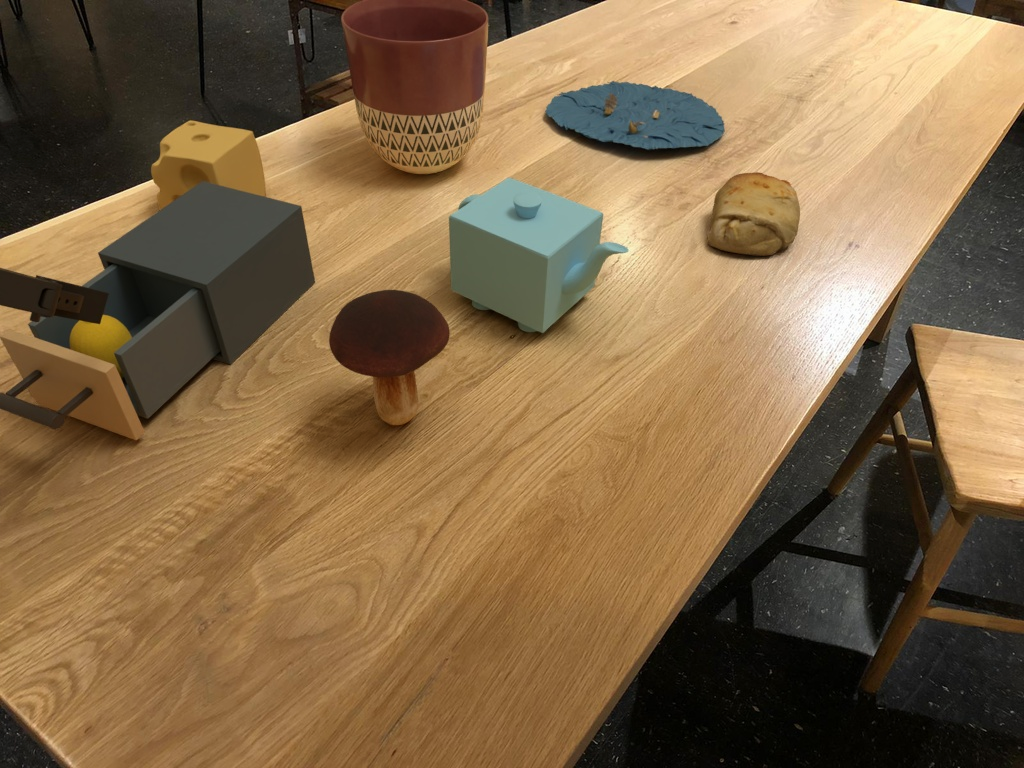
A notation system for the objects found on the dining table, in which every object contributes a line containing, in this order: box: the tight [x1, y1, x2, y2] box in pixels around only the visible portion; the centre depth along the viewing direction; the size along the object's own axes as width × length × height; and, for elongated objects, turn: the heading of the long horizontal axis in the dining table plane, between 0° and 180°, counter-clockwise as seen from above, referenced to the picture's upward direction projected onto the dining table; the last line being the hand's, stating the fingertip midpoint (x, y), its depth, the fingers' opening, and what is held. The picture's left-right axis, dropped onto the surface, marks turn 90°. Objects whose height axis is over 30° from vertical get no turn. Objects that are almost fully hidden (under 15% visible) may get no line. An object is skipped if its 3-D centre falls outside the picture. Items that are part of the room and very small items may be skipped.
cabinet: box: [97, 181, 316, 366], centre depth 86 cm, size 17×14×11 cm
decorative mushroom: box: [328, 289, 450, 426], centre depth 72 cm, size 11×11×15 cm
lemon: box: [70, 315, 132, 378], centre depth 75 cm, size 6×6×8 cm
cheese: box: [150, 119, 267, 211], centre depth 102 cm, size 10×11×10 cm
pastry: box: [706, 171, 801, 257], centre depth 102 cm, size 14×12×8 cm
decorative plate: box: [544, 80, 726, 151], centre depth 128 cm, size 30×30×5 cm
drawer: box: [0, 263, 221, 441], centre depth 75 cm, size 20×12×9 cm, turn 158°
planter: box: [340, 0, 489, 175], centre depth 109 cm, size 20×20×21 cm
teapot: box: [448, 176, 629, 334], centre depth 87 cm, size 22×11×14 cm, turn 54°
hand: (38, 288), depth 65 cm, fingers open, 13 cm apart
